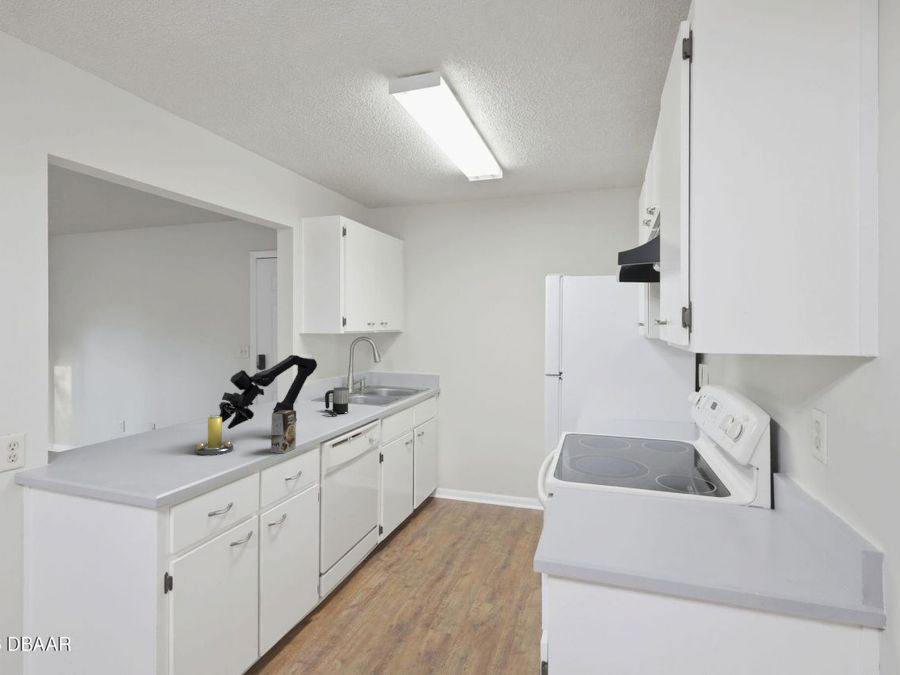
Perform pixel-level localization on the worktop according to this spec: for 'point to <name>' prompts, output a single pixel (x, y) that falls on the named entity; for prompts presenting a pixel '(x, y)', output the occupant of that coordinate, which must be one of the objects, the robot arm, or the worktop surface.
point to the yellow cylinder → (214, 431)
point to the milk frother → (337, 400)
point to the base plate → (205, 450)
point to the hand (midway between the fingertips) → (222, 426)
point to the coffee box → (283, 431)
